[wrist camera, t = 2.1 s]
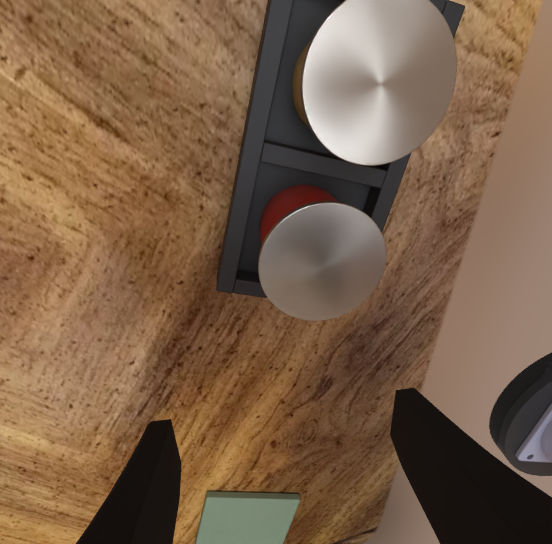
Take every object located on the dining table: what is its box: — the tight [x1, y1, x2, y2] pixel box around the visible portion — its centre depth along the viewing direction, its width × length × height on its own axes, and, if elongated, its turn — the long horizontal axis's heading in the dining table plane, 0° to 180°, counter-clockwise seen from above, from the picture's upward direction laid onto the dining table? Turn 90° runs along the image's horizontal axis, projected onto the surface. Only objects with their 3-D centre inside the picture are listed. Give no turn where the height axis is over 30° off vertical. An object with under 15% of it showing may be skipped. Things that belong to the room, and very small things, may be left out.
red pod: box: [258, 185, 386, 321], centre depth 16 cm, size 5×5×5 cm
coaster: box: [195, 491, 300, 544], centre depth 29 cm, size 7×7×1 cm
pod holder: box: [216, 0, 465, 298], centre depth 17 cm, size 7×14×2 cm, turn 167°
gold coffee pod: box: [291, 0, 457, 166], centre depth 14 cm, size 5×5×5 cm
